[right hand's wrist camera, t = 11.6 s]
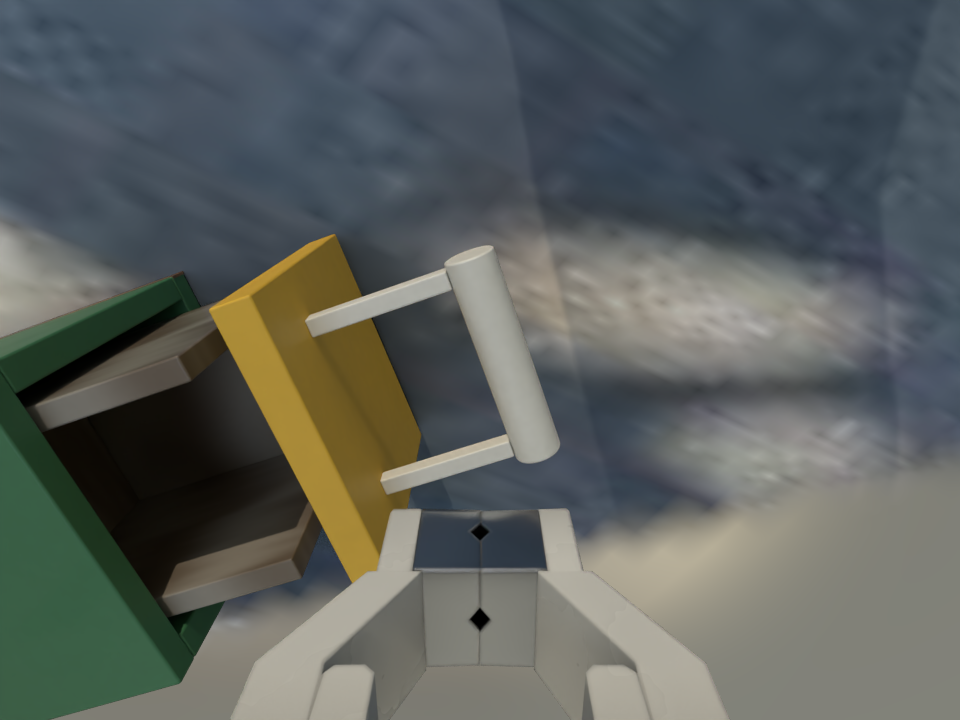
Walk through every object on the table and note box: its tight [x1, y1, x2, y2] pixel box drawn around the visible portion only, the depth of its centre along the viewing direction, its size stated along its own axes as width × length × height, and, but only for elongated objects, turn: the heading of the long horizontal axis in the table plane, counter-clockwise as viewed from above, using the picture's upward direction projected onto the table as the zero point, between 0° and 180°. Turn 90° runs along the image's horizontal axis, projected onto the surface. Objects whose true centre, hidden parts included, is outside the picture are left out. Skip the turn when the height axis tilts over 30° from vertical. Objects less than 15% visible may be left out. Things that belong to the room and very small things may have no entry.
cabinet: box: [0, 271, 225, 720], centre depth 23 cm, size 15×11×12 cm
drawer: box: [16, 234, 560, 618], centre depth 22 cm, size 20×10×10 cm, turn 109°
